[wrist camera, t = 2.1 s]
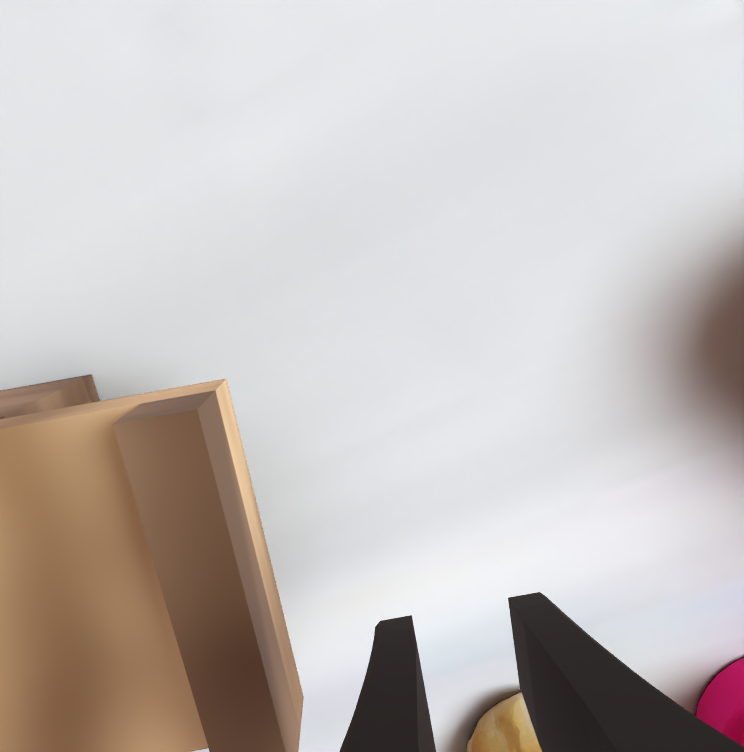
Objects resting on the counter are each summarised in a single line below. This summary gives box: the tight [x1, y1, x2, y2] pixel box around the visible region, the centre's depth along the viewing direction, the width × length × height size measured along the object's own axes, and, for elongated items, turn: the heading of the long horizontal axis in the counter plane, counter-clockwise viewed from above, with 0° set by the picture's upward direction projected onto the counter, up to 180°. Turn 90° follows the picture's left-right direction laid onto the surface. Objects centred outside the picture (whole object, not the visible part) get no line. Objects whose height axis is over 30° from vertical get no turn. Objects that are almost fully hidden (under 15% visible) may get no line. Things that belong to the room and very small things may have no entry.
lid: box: [0, 379, 303, 752], centre depth 14 cm, size 12×10×3 cm
